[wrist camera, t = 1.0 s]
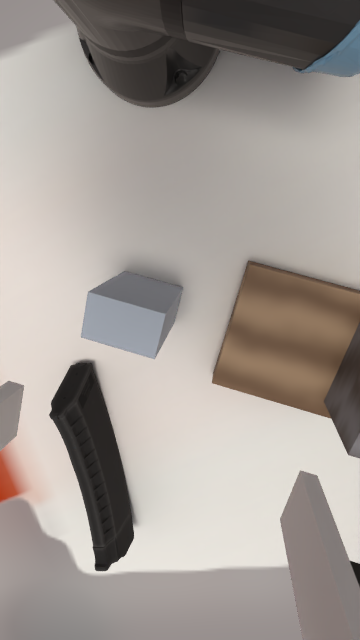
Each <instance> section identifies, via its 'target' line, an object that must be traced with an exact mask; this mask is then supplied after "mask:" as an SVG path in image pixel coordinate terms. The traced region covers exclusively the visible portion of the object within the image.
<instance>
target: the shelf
mask: <svg viewBox="0 0 360 640" xmlns="http://www.w3.org/2000/svg"><path fill="white" fill-rule="evenodd" d="M212 383H213V384H217V385H220V386H224V387H227V388H230V389H234V390H237V391H240V392H244V393H247V394H250V395H254V396H257V397H261V398H264V399H267V400H271V401H274V402H277V403H281V404H284V405H287V406H291V407H294V408H298V409H301V410H304V411H308V412H311V413H314V414H318V415H321V416H325V417H328V418H331V419H332V420H333V423H334V425H335V427H336V429H337V431H338V434H339V436H340V438H341V440H342V442H343V444H344V447H345V449H346V451H347V453H348V455H350V456H354V457H357V458H360V291H358V290H355V289H351V288H347V287H344V286H340V285H336V284H333V283H329V282H325V281H322V280H318V279H314V278H310V277H307V276H303V275H299V274H296V273H292V272H288V271H285V270H281V269H277V268H274V267H270V266H266V265H263V264H259V263H255V262H251V261H248V264H247V267H246V271H245V274H244V277H243V280H242V283H241V287H240V290H239V293H238V296H237V299H236V302H235V306H234V309H233V312H232V315H231V318H230V321H229V325H228V328H227V331H226V334H225V337H224V341H223V344H222V347H221V350H220V353H219V356H218V360H217V363H216V366H215V369H214V372H213V379H212Z"/></svg>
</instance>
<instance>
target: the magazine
mask: <svg viewBox="0 0 360 640" xmlns="http://www.w3.org/2000/svg"><path fill="white" fill-rule="evenodd" d="M51 406H52V410H51V412H50V414H49V416H50V418H51V419H53V421H54V423H55V425H56V426H57V428H58V430H59V432H60V434H61V436H62V438H63V441H64V443H65V445H66V448H67V450H68V453H69V456H70V459H71V462H72V465H73V468H74V471H75V473H76V476H77V479H78V482H79V486H80V489H81V492H82V496H83V500H84V504H85V508H86V512H87V516H88V520H89V525H90V530H91V535H92V541H93V550H94V554H95V570H96V571H106V570H108V569H109V567H110V565H111V564H112V563H114V562H117V561H118V560H119V559H120V558H121V557H124V556H125V555H126V553H127V551H128V549H129V547H130V545H131V543H132V541H133V539H134V531H133V523H132V516H131V511H130V505H129V499H128V493H127V488H126V482H125V477H124V472H123V467H122V463H121V458H120V454H119V450H118V446H117V443H116V439H115V435H114V432H113V428H112V425H111V422H110V419H109V416H108V413H107V409H106V406H105V404H104V401H103V398H102V395H101V392H100V390H99V387H98V384H97V381H96V378H95V375H94V373H93V370H92V364H91V363H88V364H87V363H78V364H76V365H72V366H70V368H69V370H68V372H67V374H66V376H65V377H64V379H63V381H62V383H61V385H60V387H59V389H58V390H57V392H56V394H55V396H54V398H53V400H52V402H51Z"/></svg>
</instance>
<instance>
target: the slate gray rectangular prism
mask: <svg viewBox="0 0 360 640" xmlns="http://www.w3.org/2000/svg"><path fill="white" fill-rule="evenodd" d="M182 290H183V287H180V286H176V285H172V284H169V283H165V282H162V281H158V280H155V279H151V278H147V277H144V276H140V275H137V274H133V273H130V272H126V271H124V272H122V273H121V274H119V275H117V276H115V277H114V278H112V279H110V280H108V281H106V282H105V283H103V284H101V285H99V286H98V287H96V288H94V289H92V290H91V291H89V292H88V295H87V302H86V308H85V314H84V320H83V327H82V333H81V338H85V339H88V340H92V341H95V342H98V343H102V344H105V345H108V346H112V347H115V348H119V349H122V350H125V351H129V352H132V353H135V354H139V355H142V356H146V357H149V358H152V359H155V358H156V356H157V354H158V352H159V350H160V348H161V346H162V344H163V343H164V341H165V339H166V337H167V335H168V333H169V331H170V330H171V328H172V326H173V324H174V322H175V318H176V314H177V310H178V306H179V302H180V298H181V294H182Z"/></svg>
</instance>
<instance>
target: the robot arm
mask: <svg viewBox="0 0 360 640" xmlns="http://www.w3.org/2000/svg"><path fill="white" fill-rule="evenodd" d="M54 1H55V2H56V3H57V5H58V6H59V7H60V8H61V9H62V10H63V12H64V13H65V14H66V15H67V16H68V17H69V18H70V19H71V21H72V22H73V23H74V24H75V25H76V26H77V31H78V35H79V39H80V42H81V46H82V48H83V51H84V54H85V56H86V58H87V60H88V62H89V64H90V66H91V67H92V69H93V71H94V72H95V74H96V75H97V76H98V77H99V79H100V80H101V81H102V82H103V83H104V84H105V85H106V86H107V87H108V88H109V89H110V90H111V91H112V92H114V93H115V94H116V95H117V96H119V97H120V98H122V99H123V100H125V101H127V102H129V103H132V104H135V105H138V106H143V107H160V106H165V105H169V104H172V103H175V102H177V101H179V100H181V99H183V98H184V97H186V96H187V95H189V94H190V93H191V92H192V91H194V90H195V89H196V88H197V87H198V86H199V85H200V84H201V82H202V81H203V80H204V79H205V77H206V76H207V75H208V73H209V71H210V70H211V68H212V66H213V64H214V62H215V60H216V58H217V55H218V53H219V50H220V49H222V50H226V51H230V52H234V53H238V54H242V55H246V56H251V57H255V58H259V59H263V60H267V61H271V62H275V63H279V64H284V65H288V66H292V67H293V69H294V70H295V71H296V72H299V73H310V72H312V71H313V72H318V73H323V74H329V75H334V76H340V77H350V76H354V75H356V74H359V73H360V0H54ZM23 390H24V385H21V384H18V383H14V382H11V381H8V382H6V383H5V384H3V385H2V386H0V451H1V450H2V449H3V448H4V447H5V446H6V445H7V444H8V443H9V442H10V441H11V440H12V439H14V438H15V437H16V436H17V430H18V423H19V416H20V410H21V403H22V396H23ZM280 522H281V527H282V532H283V538H284V543H285V548H286V554H287V559H288V564H289V569H290V575H291V580H292V585H293V590H294V596H295V601H296V607H297V612H298V617H299V622H300V627H301V633H302V638H303V640H360V564H358V563H355V562H352V561H349V558H348V555H347V553H346V550H345V547H344V545H343V542H342V539H341V537H340V534H339V532H338V529H337V526H336V524H335V521H334V518H333V516H332V513H331V511H330V508H329V505H328V503H327V500H326V497H325V495H324V492H323V489H322V487H321V484H320V482H319V479H318V476H317V475H313V474H310V473H307V472H304V471H300V472H299V475H298V477H297V479H296V482H295V484H294V487H293V489H292V492H291V494H290V496H289V499H288V501H287V504H286V506H285V509H284V511H283V513H282V516H281V518H280Z"/></svg>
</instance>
